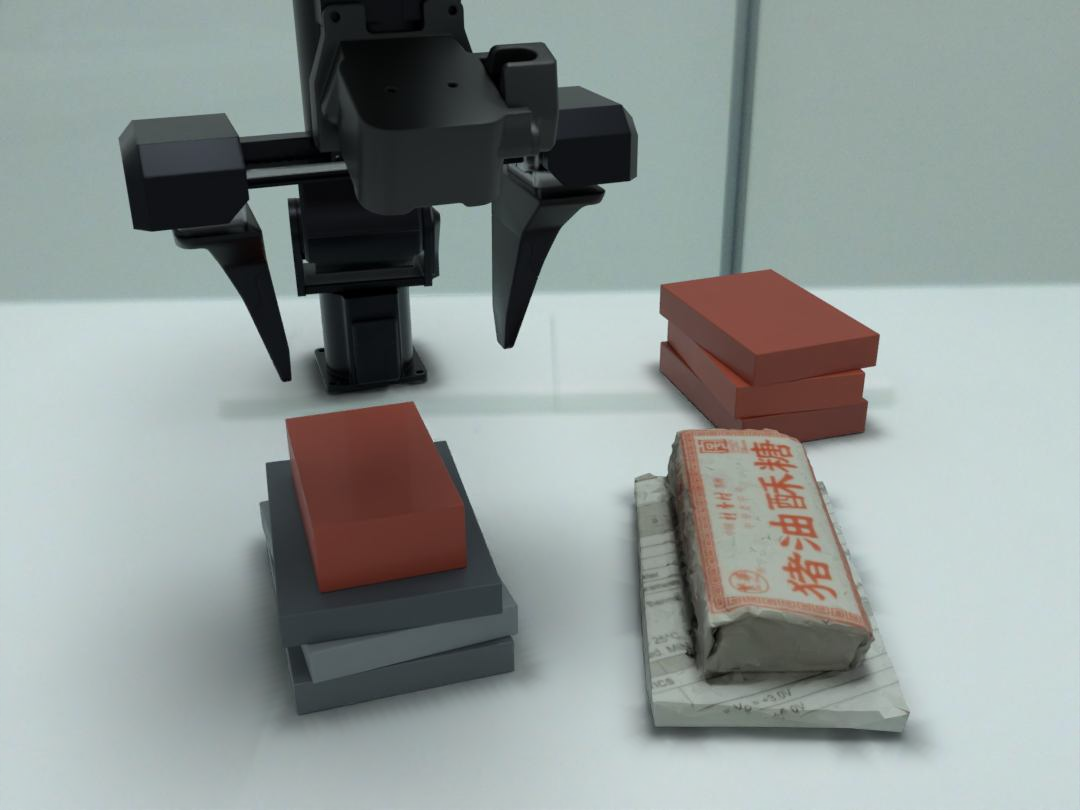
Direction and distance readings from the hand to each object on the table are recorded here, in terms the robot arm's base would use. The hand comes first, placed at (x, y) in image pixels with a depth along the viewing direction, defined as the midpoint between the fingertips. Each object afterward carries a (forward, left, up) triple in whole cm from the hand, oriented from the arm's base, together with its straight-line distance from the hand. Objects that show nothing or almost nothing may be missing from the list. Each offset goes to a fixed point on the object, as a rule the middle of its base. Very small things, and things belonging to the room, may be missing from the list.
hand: (398, 361), depth 47 cm
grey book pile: (-1, -1, -12) cm, 12 cm away
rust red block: (-1, -1, -8) cm, 8 cm away
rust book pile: (-15, +25, -12) cm, 31 cm away
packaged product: (+4, +15, -12) cm, 20 cm away
